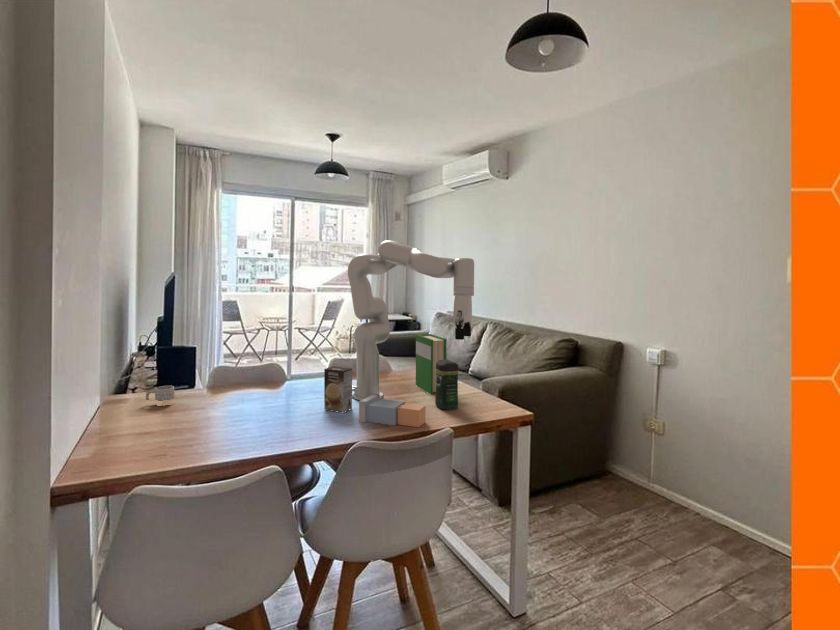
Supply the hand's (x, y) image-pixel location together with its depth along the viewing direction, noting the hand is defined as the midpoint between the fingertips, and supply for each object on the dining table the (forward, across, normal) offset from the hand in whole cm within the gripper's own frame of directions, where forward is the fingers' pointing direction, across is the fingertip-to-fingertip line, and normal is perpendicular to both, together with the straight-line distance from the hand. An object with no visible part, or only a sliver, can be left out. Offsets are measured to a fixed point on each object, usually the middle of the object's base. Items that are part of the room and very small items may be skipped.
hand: (463, 337), depth 170 cm
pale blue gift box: (+28, +19, -24) cm, 42 cm away
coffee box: (+28, +14, -45) cm, 55 cm away
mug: (+28, +35, -114) cm, 122 cm away
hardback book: (+29, -29, -23) cm, 47 cm away
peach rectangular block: (+28, +19, -13) cm, 37 cm away
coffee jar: (+29, -5, -8) cm, 30 cm away
